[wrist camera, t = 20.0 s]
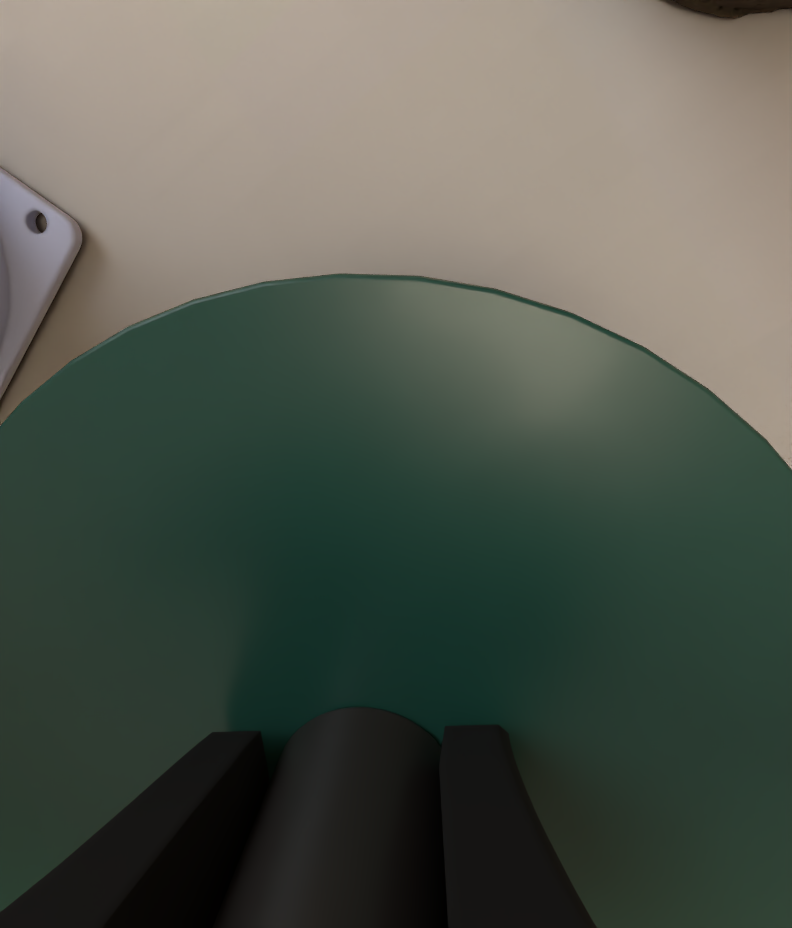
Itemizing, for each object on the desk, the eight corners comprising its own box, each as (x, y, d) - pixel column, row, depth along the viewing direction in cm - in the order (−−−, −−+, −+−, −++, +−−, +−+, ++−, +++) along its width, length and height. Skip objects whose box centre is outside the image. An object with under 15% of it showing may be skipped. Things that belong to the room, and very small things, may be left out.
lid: (-7, 978, 12) (-301, 1413, 7) (-71, 226, 8) (-683, 172, 4) (727, 1113, 11) (908, 1705, 6) (978, 331, 7) (1727, 411, 3)
